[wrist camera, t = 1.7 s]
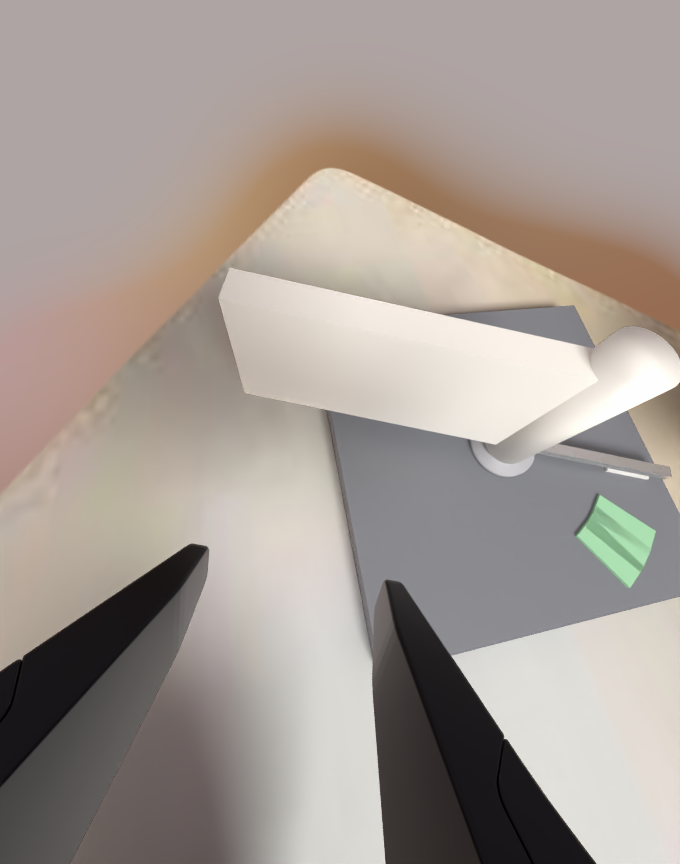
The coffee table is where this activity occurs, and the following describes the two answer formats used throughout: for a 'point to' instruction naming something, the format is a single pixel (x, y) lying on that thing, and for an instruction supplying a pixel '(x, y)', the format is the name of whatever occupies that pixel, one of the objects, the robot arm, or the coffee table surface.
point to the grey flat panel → (505, 520)
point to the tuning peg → (440, 369)
